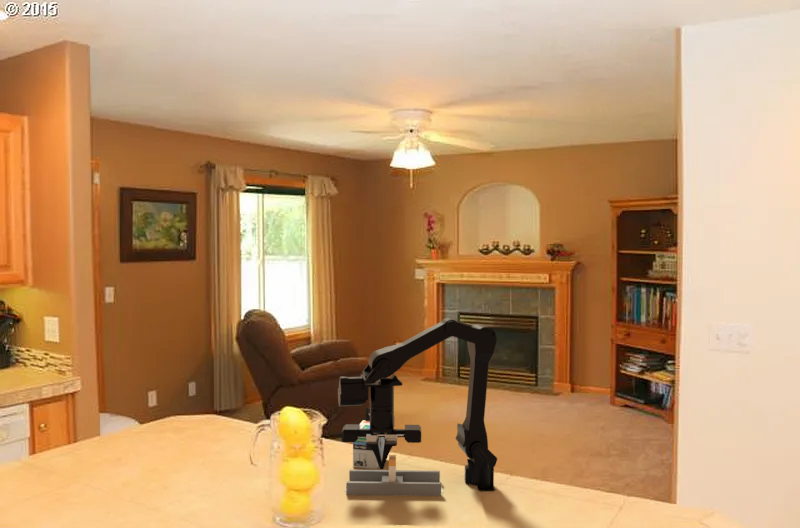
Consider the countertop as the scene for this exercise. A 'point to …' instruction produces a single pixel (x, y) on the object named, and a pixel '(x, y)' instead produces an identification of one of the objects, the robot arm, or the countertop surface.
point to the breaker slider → (392, 471)
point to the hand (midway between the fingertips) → (381, 468)
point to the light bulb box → (365, 450)
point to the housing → (394, 483)
